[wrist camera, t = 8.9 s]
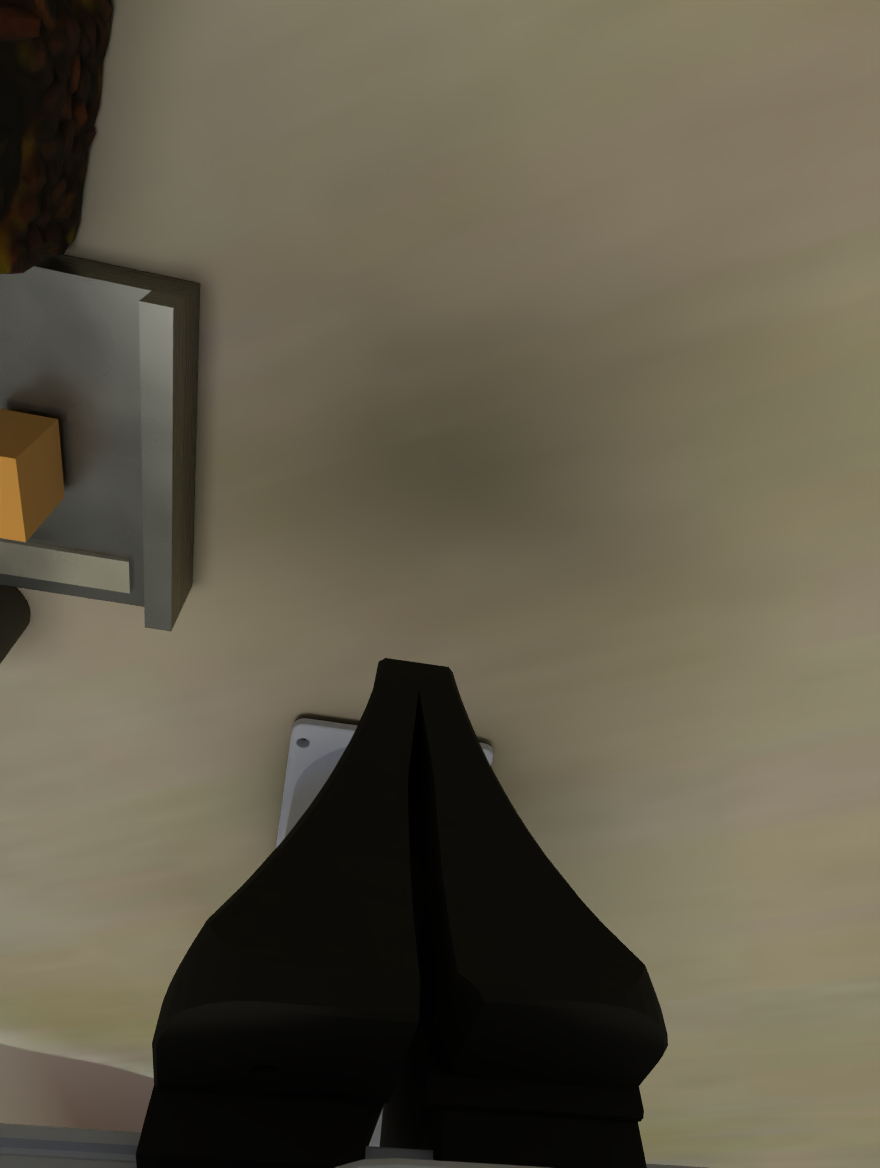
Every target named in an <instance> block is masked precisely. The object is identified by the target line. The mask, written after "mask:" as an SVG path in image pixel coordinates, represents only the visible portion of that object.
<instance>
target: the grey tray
mask: <svg viewBox="0 0 880 1168" xmlns="http://www.w3.org/2000/svg"><path fill="white" fill-rule="evenodd" d="M199 300H200V283H195V282H190V281H186V280H181V279H176V278H171V277H166V276H162V275H157V274H152V273H147V272H142V271H138V270H133V269H128V268H123V267H119V266H114V265H109V264H104V263H99V262H95V261H90V260H85V259H80V258H76V257H71V256H66V255H61V254H59V255H51V256H48V255H46V254H43V255H42V257H41V258H40V260H39V261H38V263H37V264H36V265H35V266H33V267H32V268H30V269H29V270H27V271H26V272H24V273H20V274H0V409H5V410H10V411H16V412H21V413H27V414H32V415H38V416H43V417H49V418H54V419H58V423H59V435H60V446H61V458H62V470H63V482H64V493H65V497H64V498H63V500H62V501H61V502H60V503H59V504H58V505H57V507H56V508H55V509H54V510H53V511H52V512H51V514H50V515H49V516H48V517H47V518H46V519H45V521H44V522H43V523H42V524H41V525H40V526H39V527H38V529H37V530H36V531H35V532H34V533H33V534H32V536H31V537H30V538H29V539H28V540H27V541H26V542H22V541H15V540H9V539H3V538H0V585H7V586H13V587H20V588H26V589H33V590H39V591H46V592H52V593H59V594H65V595H72V596H78V597H85V598H91V599H98V600H104V601H111V602H117V603H124V604H130V605H136V606H143V607H145V627H146V628H153V629H159V630H166V631H172V629H173V626H174V624H175V622H176V620H177V618H178V616H179V613H180V611H181V609H182V607H183V605H184V603H185V600H186V598H187V596H188V594H189V592H190V590H191V587H192V574H193V535H194V496H195V457H196V417H197V378H198V339H199Z"/></svg>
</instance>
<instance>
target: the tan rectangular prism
mask: <svg viewBox="0 0 880 1168" xmlns="http://www.w3.org/2000/svg"><path fill="white" fill-rule="evenodd" d="M64 497H65V493H64V482H63V470H62V458H61V446H60V435H59V423H58V419H54V418H49V417H43V416H38V415H32V414H27V413H21V412H16V411H10V410H5V409H0V538H3V539H9V540H15V541H22V542H26V541H27V540H28V539H29V538H30V537H31V536H32V534H33V533H34V532H35V531H36V530H37V529H38V527H39V526H40V525H41V524H42V523H43V522H44V521H45V519H46V518H47V517H48V516H49V515H50V514H51V512H52V511H53V510H54V509H55V508H56V507H57V505H58V504H59V503H60V502H61V501H62V500H63V498H64Z"/></svg>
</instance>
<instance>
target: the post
mask: <svg viewBox="0 0 880 1168" xmlns="http://www.w3.org/2000/svg"><path fill="white" fill-rule="evenodd" d="M29 621H30V609H29V606H28V603H27V601H26V599H25V598H24V596H23V595H22V594H21V592H20V591H19V590H18V589H17V588H16V587H13V586H7V585H0V663H1V662H2V661H3V659H4V658H5V656H6V655H7V654H8V652H9V651H10V649H11V648H12V647H13V645H14V644H15V643H16V641H17V640H18V638H19V637H20V636H21V634H22V633H23V632H24V630H25V629H26V627H27V626H28V624H29Z"/></svg>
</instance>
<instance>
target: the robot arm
mask: <svg viewBox="0 0 880 1168" xmlns="http://www.w3.org/2000/svg"><path fill="white" fill-rule="evenodd" d="M300 738H304V739H307V740H301V739H300ZM492 761H493V749H492V747H491V746H490V745H488V744H485V743H480V742H479V741H478V738H477V736H476V734H475V732H474V730H473V727H472V725H471V723H470V720H469V718H468V715H467V713H466V710H465V708H464V705H463V702H462V700H461V697H460V694H459V691H458V688H457V685H456V682H455V679H454V675H453V672H452V671H451V670H450V668H449V667H444V666H437V665H430V664H423V663H416V662H409V661H402V660H395V659H388V658H385V659H383V660H381V661H379V663H378V668H377V673H376V678H375V683H374V688H373V691H372V694H371V696H370V699H369V701H368V704H367V706H366V709H365V711H364V713H363V715H362V717H361V719H360V722H359V724H358V725H351V724H343V723H336V722H329V721H322V720H315V719H308V718H302V719H298V720H297V721H295V722H294V724H293V727H292V731H291V739H290V746H289V754H288V761H287V768H286V776H285V783H284V790H283V798H282V805H281V813H280V820H279V827H278V835H277V842H276V849H275V850H274V851H273V852H272V854H271V855H270V856H269V857H268V858H267V859H266V860H265V861H264V863H263V864H262V865H261V866H260V867H259V868H258V869H257V870H256V872H255V873H254V874H253V875H252V876H251V877H250V878H249V879H248V880H247V881H246V882H245V883H244V884H243V885H242V887H240V888H239V889H238V890H237V891H236V892H235V893H234V894H233V895H232V896H231V897H230V898H229V899H228V900H227V901H226V902H225V903H224V904H223V905H222V906H221V907H220V908H219V909H218V910H217V911H216V912H215V913H214V914H213V915H212V916H211V917H210V918H209V919H208V920H207V921H206V922H205V924H204V926H203V927H202V929H201V931H200V932H199V934H198V935H197V937H196V939H195V940H194V942H193V943H192V945H191V947H190V948H189V950H188V952H187V953H186V955H185V957H184V958H183V960H182V962H181V964H180V965H179V967H178V969H177V971H176V973H175V975H174V977H173V979H172V981H171V983H170V985H169V988H168V990H167V993H166V995H165V997H164V1000H163V1003H162V1007H161V1011H160V1015H159V1018H158V1022H157V1026H156V1030H155V1034H154V1038H153V1042H152V1048H153V1069H154V1088H153V1091H152V1095H151V1099H150V1102H149V1106H148V1110H147V1114H146V1117H145V1121H144V1125H143V1129H142V1132H132V1131H116V1130H100V1129H84V1128H68V1127H51V1126H35V1125H20V1124H4V1123H0V1168H707V1167H691V1166H675V1165H659V1164H646V1162H645V1157H644V1151H643V1146H642V1141H641V1136H640V1131H639V1126H638V1121H641V1120H642V1119H643V1114H644V1110H643V1105H642V1100H641V1095H640V1090H639V1085H640V1084H641V1083H642V1081H643V1080H644V1079H645V1078H646V1077H647V1075H648V1074H649V1073H650V1072H651V1070H652V1069H653V1068H654V1067H655V1065H656V1064H657V1063H658V1062H659V1060H660V1059H661V1057H662V1056H663V1054H664V1052H665V1050H666V1048H667V1046H668V1039H667V1031H666V1027H665V1023H664V1019H663V1015H662V1011H661V1007H660V1004H659V1002H658V999H657V996H656V993H655V990H654V988H653V985H652V982H651V980H650V977H649V974H648V972H647V969H646V966H645V965H644V964H643V963H642V962H641V961H640V960H639V959H638V958H637V957H636V956H635V955H634V954H633V953H632V952H631V951H630V950H629V949H628V948H627V947H626V946H625V945H624V944H623V943H622V942H621V941H620V940H619V939H618V938H617V937H616V936H615V935H614V934H613V933H612V932H611V931H610V930H609V929H608V928H607V927H606V926H604V924H603V923H602V922H601V921H600V920H599V919H598V918H597V917H596V916H595V915H594V914H593V912H592V911H591V910H590V909H589V908H588V907H587V906H586V905H585V904H584V902H583V901H582V900H581V899H580V898H579V897H578V895H577V894H576V893H575V892H574V890H573V889H572V888H571V887H570V885H569V884H568V883H567V882H566V880H565V879H564V878H563V877H562V875H561V874H560V873H559V872H558V870H557V869H556V868H555V867H554V865H553V864H552V863H551V862H550V860H549V859H548V858H547V856H546V855H545V854H544V852H543V851H542V849H541V848H540V847H539V845H538V844H537V842H536V841H535V839H534V838H533V837H532V835H531V834H530V832H529V831H528V829H527V828H526V826H525V825H524V823H523V822H522V820H521V818H520V817H519V815H518V814H517V812H516V811H515V809H514V807H513V806H512V804H511V802H510V801H509V799H508V797H507V795H506V794H505V792H504V790H503V788H502V786H501V785H500V783H499V781H498V779H497V777H496V775H495V774H494V772H493V770H492V768H491V764H492Z"/></svg>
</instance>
